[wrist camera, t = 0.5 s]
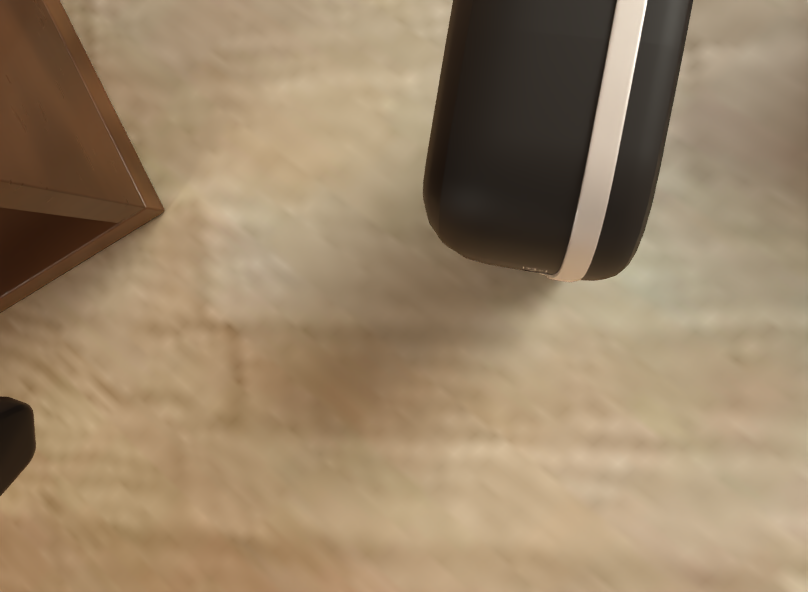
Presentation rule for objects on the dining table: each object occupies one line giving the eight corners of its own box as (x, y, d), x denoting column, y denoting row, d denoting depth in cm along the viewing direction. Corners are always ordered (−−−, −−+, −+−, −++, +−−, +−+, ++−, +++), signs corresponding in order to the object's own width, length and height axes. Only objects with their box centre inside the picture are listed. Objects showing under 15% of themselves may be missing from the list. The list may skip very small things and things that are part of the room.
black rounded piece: (493, 57, 20) (464, -223, 9) (611, 70, 19) (742, -217, 8) (457, 264, 20) (385, 249, 9) (571, 283, 20) (642, 293, 9)
